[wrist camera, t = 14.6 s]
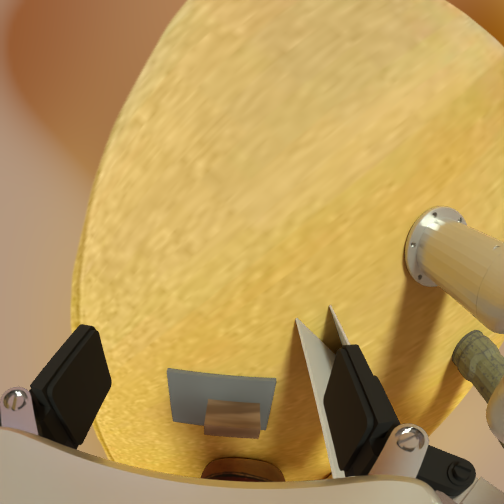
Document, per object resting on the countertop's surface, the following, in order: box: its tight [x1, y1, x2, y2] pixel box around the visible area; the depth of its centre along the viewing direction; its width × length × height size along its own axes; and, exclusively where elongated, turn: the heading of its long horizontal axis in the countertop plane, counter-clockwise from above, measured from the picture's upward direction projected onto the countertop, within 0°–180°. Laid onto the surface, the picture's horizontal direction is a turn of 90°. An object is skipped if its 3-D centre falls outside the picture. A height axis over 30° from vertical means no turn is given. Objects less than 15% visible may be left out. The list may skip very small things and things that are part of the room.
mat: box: [167, 368, 276, 430], centre depth 47 cm, size 18×14×1 cm
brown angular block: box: [204, 399, 261, 439], centre depth 44 cm, size 3×9×6 cm, turn 84°
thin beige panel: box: [296, 305, 355, 479], centre depth 29 cm, size 14×6×30 cm, turn 23°
